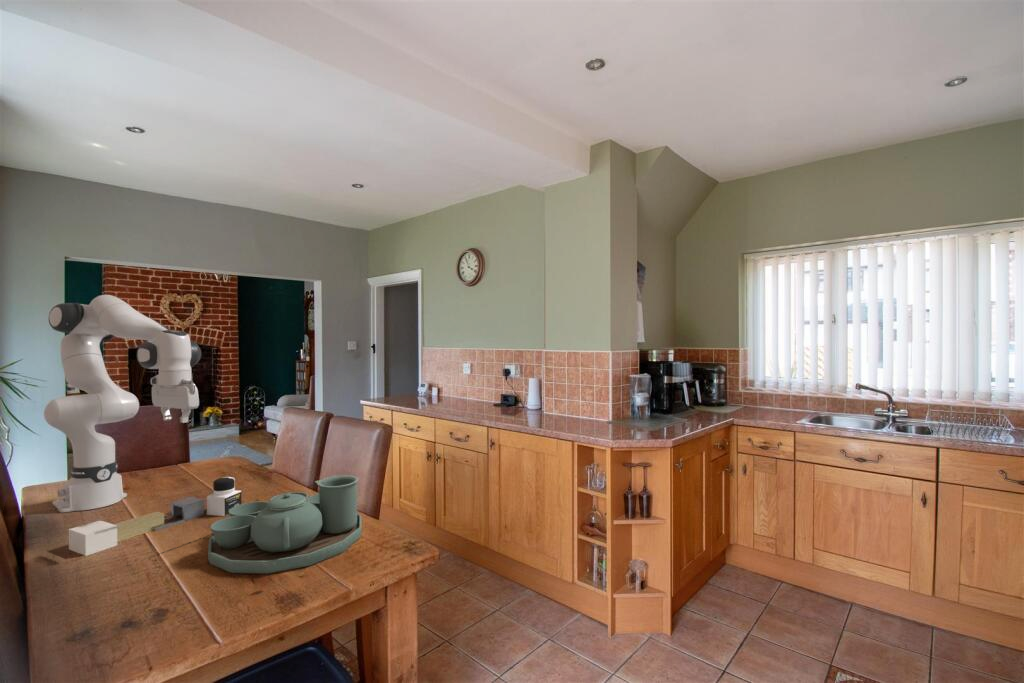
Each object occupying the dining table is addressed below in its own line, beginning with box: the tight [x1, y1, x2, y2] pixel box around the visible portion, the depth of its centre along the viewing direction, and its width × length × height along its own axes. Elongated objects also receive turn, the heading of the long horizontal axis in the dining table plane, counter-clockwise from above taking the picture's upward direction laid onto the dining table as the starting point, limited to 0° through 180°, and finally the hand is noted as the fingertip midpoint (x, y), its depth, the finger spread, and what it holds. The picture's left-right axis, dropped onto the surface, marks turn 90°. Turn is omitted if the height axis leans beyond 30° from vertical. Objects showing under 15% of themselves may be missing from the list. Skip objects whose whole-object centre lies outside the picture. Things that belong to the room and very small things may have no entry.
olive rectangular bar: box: [113, 511, 165, 543], centre depth 136 cm, size 4×16×4 cm, turn 154°
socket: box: [68, 519, 118, 557], centre depth 129 cm, size 9×7×6 cm
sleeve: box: [153, 496, 205, 532], centre depth 147 cm, size 8×14×6 cm, turn 154°
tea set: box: [207, 474, 363, 575], centre depth 134 cm, size 40×40×16 cm
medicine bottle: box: [206, 476, 242, 517], centre depth 155 cm, size 7×7×12 cm
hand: (175, 421), depth 155 cm, fingers open, 8 cm apart
